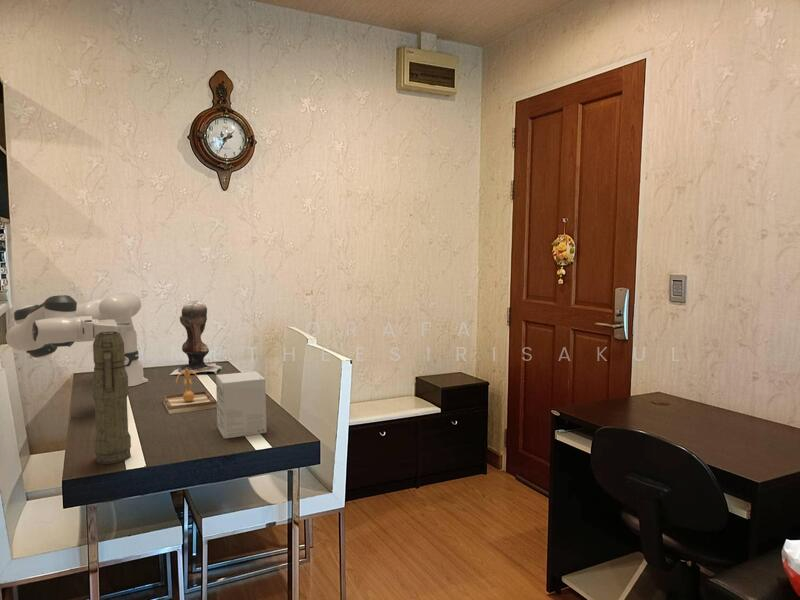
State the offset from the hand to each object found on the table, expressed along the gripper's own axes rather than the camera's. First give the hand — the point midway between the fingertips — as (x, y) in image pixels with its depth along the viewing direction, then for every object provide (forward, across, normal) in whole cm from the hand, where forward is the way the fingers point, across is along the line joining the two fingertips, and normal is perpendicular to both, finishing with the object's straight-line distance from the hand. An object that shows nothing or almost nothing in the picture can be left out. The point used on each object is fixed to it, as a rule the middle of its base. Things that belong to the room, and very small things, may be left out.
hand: (131, 326), depth 205 cm
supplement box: (+28, +45, -30) cm, 61 cm away
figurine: (+18, +6, -29) cm, 34 cm away
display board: (+18, +6, -30) cm, 36 cm away
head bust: (+32, -58, -30) cm, 73 cm away
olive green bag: (-9, +53, -30) cm, 62 cm away
